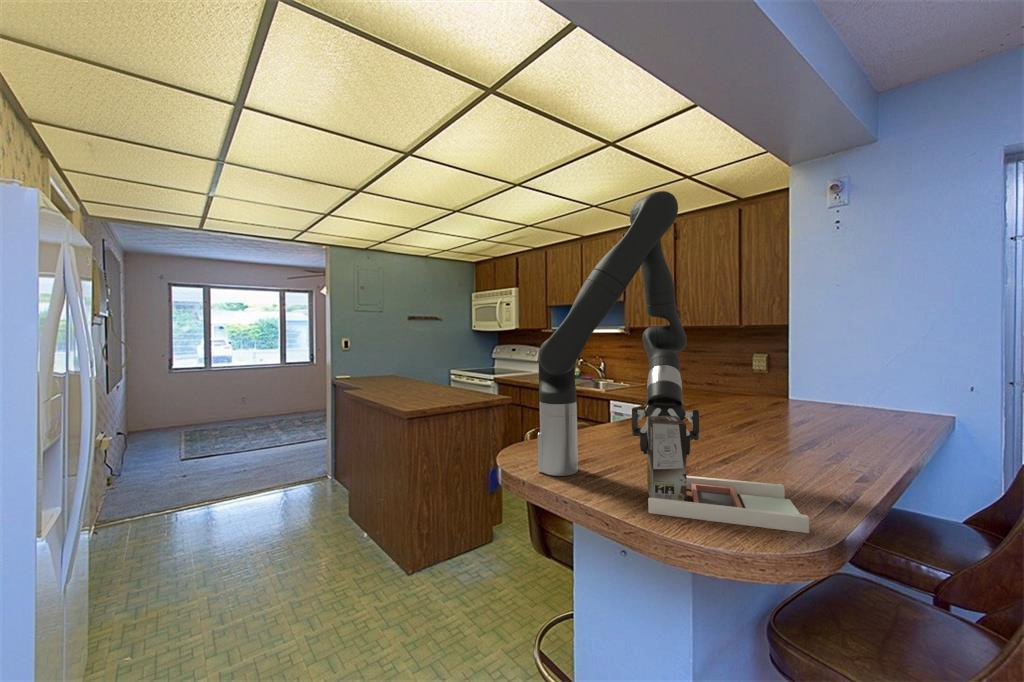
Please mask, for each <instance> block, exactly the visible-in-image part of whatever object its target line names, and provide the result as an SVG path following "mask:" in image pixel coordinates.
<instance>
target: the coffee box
mask: <svg viewBox="0 0 1024 682" xmlns="http://www.w3.org/2000/svg"><path fill="white" fill-rule="evenodd" d="M646 421H647V454H646V458H647V459H646V460H647V461H646V463H647V464H646V465H647V466H646V467H647V468H646V469H647V470H646V471H647V473H646V474H647V477H646V478H647V492H648V495H649V497H651V498H660V499H669V500H677V501H686V502H688V501H687V497H688V496H687V490H688V489H686V485H687V484H686V481H687V480H686V476H687V458H686V428H687V426H688V425H687V423H686V422H684V420H683V421H682V420H681V419H680V418H678V417H677V416H647V418H646Z"/></svg>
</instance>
